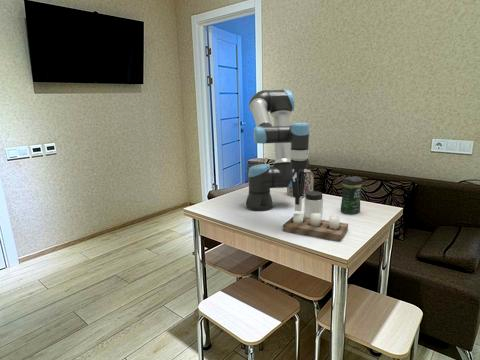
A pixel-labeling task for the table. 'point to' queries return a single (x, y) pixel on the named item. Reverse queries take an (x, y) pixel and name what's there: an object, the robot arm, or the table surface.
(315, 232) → the button board
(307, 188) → the decorative jar
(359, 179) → the coffee jar
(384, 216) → the table surface
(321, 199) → the jar
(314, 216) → the button middle
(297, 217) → the button left
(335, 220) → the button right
